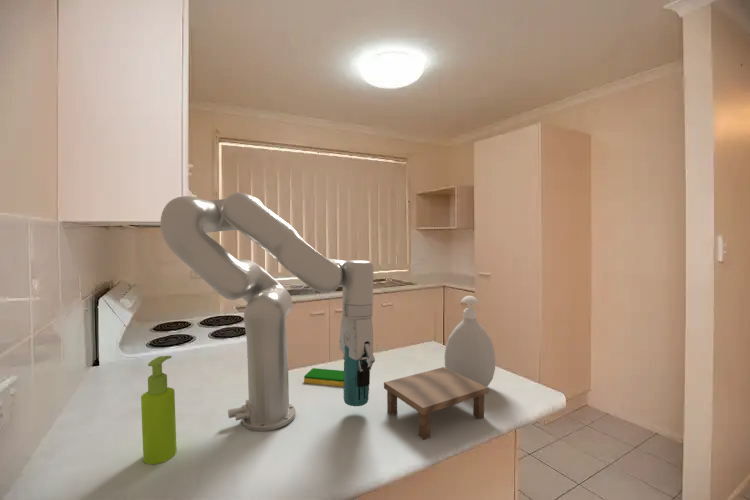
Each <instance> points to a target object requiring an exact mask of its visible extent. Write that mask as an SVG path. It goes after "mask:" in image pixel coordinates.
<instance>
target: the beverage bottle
mask: <svg viewBox="0 0 750 500" xmlns="http://www.w3.org/2000/svg"><path fill="white" fill-rule="evenodd" d="M344 348H345V360H344V359H343V371H344V386H342V387H343V395H342V396H343V398H342V399H343V402H344V403H345V404H346V405H347V406H351V407H362V406H364V405H366V404H367V403H368V401H369V399H370V398H369V397H370V396H369V394H370V385H369V386H364V387H360V388H359V387H357V371H359V367H358V361H357V360H354V359H352V358H350V357H349V348H348V347H347V346H344ZM362 357H366V354H363V355H362ZM364 362H366V360H362V365H363V364H364Z"/></svg>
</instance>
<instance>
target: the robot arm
mask: <svg viewBox="0 0 750 500" xmlns="http://www.w3.org/2000/svg"><path fill="white" fill-rule="evenodd" d="M227 231H228V232H229V231H238V232H240V233H241V234H242V235H244V236H245V237H247V238H248V239H249V240H251V241H252V242H254V243H255V244H256V245H258V246H259V247H260V248H262V249H263V250H264V251H265V252H267V253H268V254H269V255H271V256H272V258H273V259H274V260H276V262H278V263H280V265H281V266H283V268H284V269H286V270H287V271H288V272H289V273H291V274H292V276H293V275H294V276H295V277H296V278H297V279H298V280H300V281H301V282H303V283H304V284H305V285H307V286H308V287H310V288H311V289H313V290H314V291H316V292H318V293H322V294H330V293H333V292H335V291H336V290H338V288H339V287H342V313H341V314H342V316H341V321H340V329H339V330H340V332H339V350H340V351H341V352H342V354H343V357H342V358H343V361H344V360H345V348H344V346H347V347H348V348H349V357H350V358H352V359H354V360H357V361H358V367H359V371H357V387H359V388H360V387H364V386H369V387H370V383H371V382H370V381H371V377H370V376H371V375H370V374H371V370H372V367H373V365H374V363H375V361H376V358H375V355H374V328H373V326H374V325H373V318H372V317H373V313H374V311H373V309H374V308H373V307H374V265H373V263H372V262H371V261H370V260H363V259H362V260H361V259H357V260H356V259H353V260H352V259H350V260H340V259H335V258H334V259H333V258H327V257H325V256H324V255H323V254H321V253H320V252H319V251H317V250H316V249H315V248H313V247H312V246H311V245H310V244H309V243H307V241H305V240H304V239H303V238H302V237H301V236H300V235H299V234H298V231H297V230H296V229H295V228H294V227H293V226H292V225H291V224H290V223H288V222H287V221H286V220H284V219H283V218H282V217H280V216H279V215H277V214H276V213H274V212H273V211H272V210H271V209H269V208H268V207H266V206H265V204H264V203H263V202H262V201H261V200H260V199H259V198H257V197H255V196H254V195H251V194H249V193H245V192H241V191H240V192H234V193H232V194H230V195H228V196H227V197H226V198H224V199H222V198H220V199H205V198H204V199H203V198H199V197H195V196H189V195H184V196H178V197H174V198H173V199H171V200H170V201H168V203H166V205H165V206H164V208H163V209H162V211H161V215H160V232H161V236H162V238H163V241H165V244H166V245H167V247H168V248H169V249H170V250H171V252H172V253H173V254H174V255H175V256H176V257H177V258H179V260H181V261H182V262H183V263H184V264H186V265H187V266H188V267H189V268H190V269H191V270H192V271H194V272H195V274H197V275H198V276H199V277H200V278H201V279H202V280H203V281H204V282H205V283H207V284H208V286H210V287H211V288H212V289H213V290H214V291H215V292H217V294H219V295H220V296H221V298H225V299H227V300H230V301H237V300H239V299H243V300H244V301H245V302H247V303H246V305H245V308H244V310H243V311H244V312H243V323H244V328H245V329H244V331H245V336H246V337H245V338H246V351H247V356H246V357H247V382H248V383H247V386H248V391H247V392H248V399H245V404H242V405H241V406H240V407H235V408H229V409H227V417H228V419H232V418H235V419H234V420H235V421H239V420H242V424H243V426H244V427H245V428H247V429H248V430H251V431H257V432H258V431H259V432H262V431H263V432H264V431H265V432H267V431H272V430H277V429H280V428H283V427H284V426H286V425H288V424H290V423H292V421H293V420H294V419H295V418H296V409H295V406H294V405H292V404H291V403H290V394H289V393H290V390H289V389H290V387H289V386H290V385H289V383H290V382H289V352H288V351H289V350H288V332H287V318H288V316H289V314H290V313H291V311H292V308H293V299H292V296H291V293H290V292H289V291H288V289H286V288H285V287H284V286H283V285H282V284H281V283H280V282H279V281H278V280H277V279H275V278H274V277H273V276H272V275H271V274H270V273H268V271H266V269H264V268H263V267H262V266H261V265H259V264H258V263H257V262H254V261H252V260H251V259H248V258H247V259H246V258H236V257H235V256H233V255H232V254H231V253H230V252H229V251H228V250H226V249H225V248H224V246H222V245H221V244H220V243H219V242H218V241H216V240H215V239H213V237H211V236H209V235H208V234H207V233H216V232H218V233H219V232H227ZM363 354H366V357H362V355H363ZM362 360H366V362H364V364H363V365H362Z"/></svg>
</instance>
